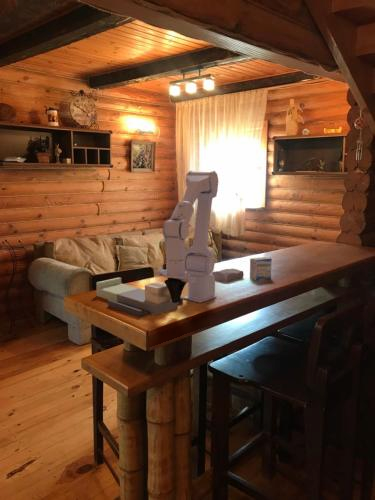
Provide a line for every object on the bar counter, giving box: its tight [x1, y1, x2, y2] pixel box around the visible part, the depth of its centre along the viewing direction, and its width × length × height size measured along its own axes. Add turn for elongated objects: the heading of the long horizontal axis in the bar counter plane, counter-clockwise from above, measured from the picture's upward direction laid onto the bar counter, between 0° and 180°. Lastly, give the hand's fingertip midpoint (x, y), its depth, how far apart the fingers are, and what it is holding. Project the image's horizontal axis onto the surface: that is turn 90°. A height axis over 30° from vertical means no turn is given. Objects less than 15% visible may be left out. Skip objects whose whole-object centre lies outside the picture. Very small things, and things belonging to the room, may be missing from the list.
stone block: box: [212, 268, 245, 283], centre depth 179 cm, size 12×5×10 cm
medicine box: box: [249, 256, 273, 281], centre depth 178 cm, size 8×4×9 cm, turn 115°
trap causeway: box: [95, 277, 184, 318], centre depth 147 cm, size 19×30×5 cm, turn 47°
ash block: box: [144, 281, 171, 304], centre depth 139 cm, size 6×6×5 cm
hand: (175, 302), depth 134 cm, fingers closed
